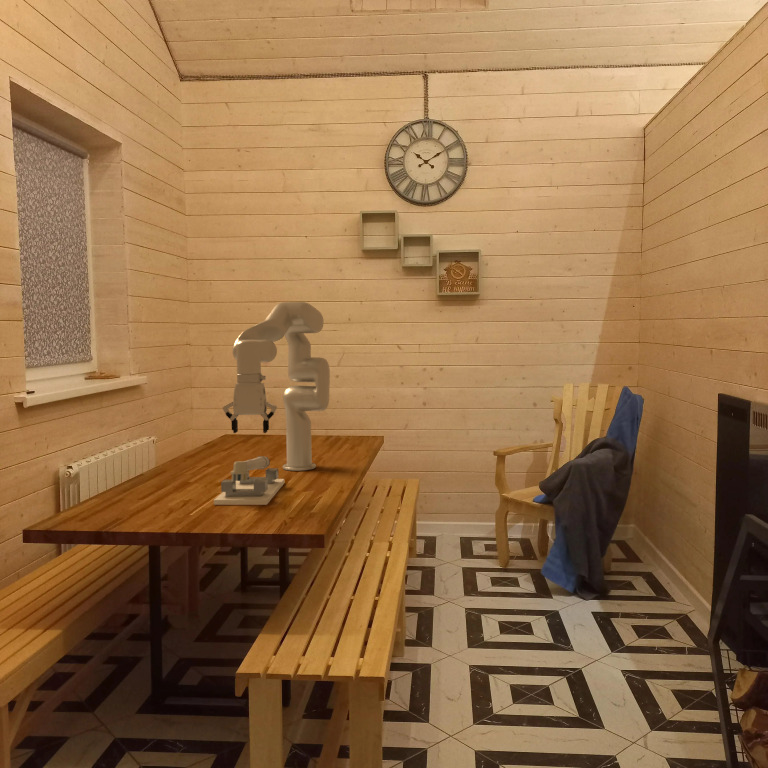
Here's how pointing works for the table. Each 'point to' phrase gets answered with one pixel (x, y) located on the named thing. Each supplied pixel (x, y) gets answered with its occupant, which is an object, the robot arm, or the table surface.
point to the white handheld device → (248, 467)
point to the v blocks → (258, 482)
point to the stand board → (250, 500)
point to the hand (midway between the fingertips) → (250, 432)
